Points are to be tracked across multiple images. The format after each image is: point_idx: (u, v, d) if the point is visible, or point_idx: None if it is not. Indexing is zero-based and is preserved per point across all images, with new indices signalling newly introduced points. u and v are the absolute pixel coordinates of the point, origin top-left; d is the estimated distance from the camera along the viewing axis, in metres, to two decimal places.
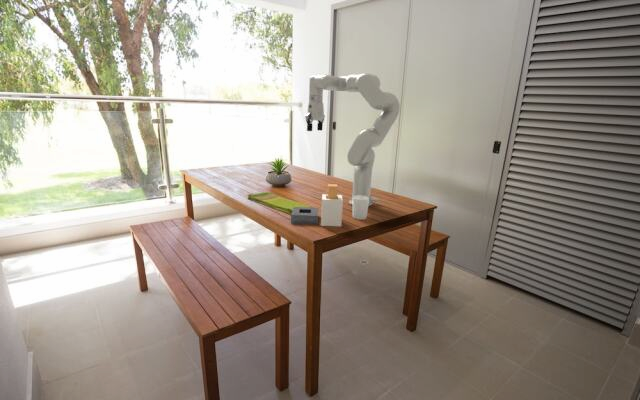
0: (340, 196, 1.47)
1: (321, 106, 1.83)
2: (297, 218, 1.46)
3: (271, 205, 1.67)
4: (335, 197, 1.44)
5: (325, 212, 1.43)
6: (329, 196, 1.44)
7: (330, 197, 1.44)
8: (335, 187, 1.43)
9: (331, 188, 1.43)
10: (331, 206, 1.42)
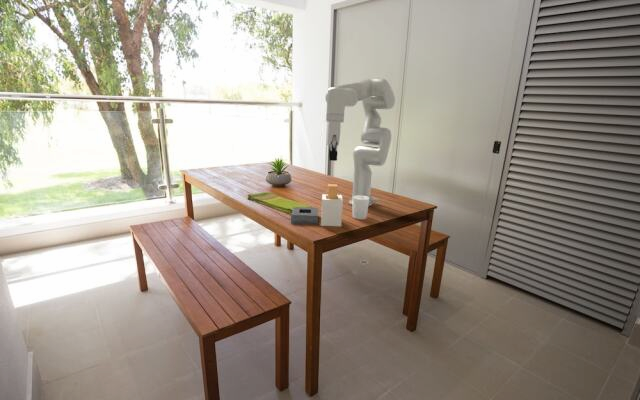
0: (340, 196, 1.47)
1: (328, 127, 1.37)
2: (297, 218, 1.46)
3: (271, 205, 1.67)
4: (335, 197, 1.44)
5: (325, 212, 1.43)
6: (329, 196, 1.44)
7: (330, 197, 1.44)
8: (335, 187, 1.43)
9: (331, 188, 1.43)
10: (331, 206, 1.42)
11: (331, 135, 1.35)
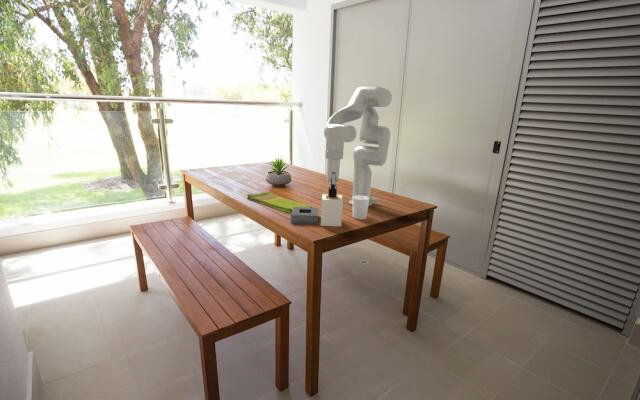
0: (340, 196, 1.47)
1: (327, 163, 1.40)
2: (297, 218, 1.46)
3: (271, 205, 1.67)
4: None
5: (325, 212, 1.43)
6: None
7: (330, 197, 1.44)
8: None
9: None
10: (331, 206, 1.42)
11: (330, 172, 1.38)
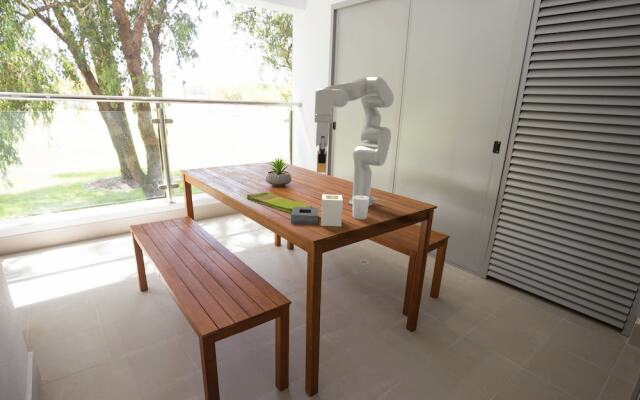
0: (340, 196, 1.47)
1: (316, 128, 1.37)
2: (297, 218, 1.46)
3: (272, 205, 1.67)
4: None
5: (325, 212, 1.43)
6: None
7: (319, 163, 1.41)
8: None
9: None
10: (331, 206, 1.42)
11: (320, 136, 1.35)
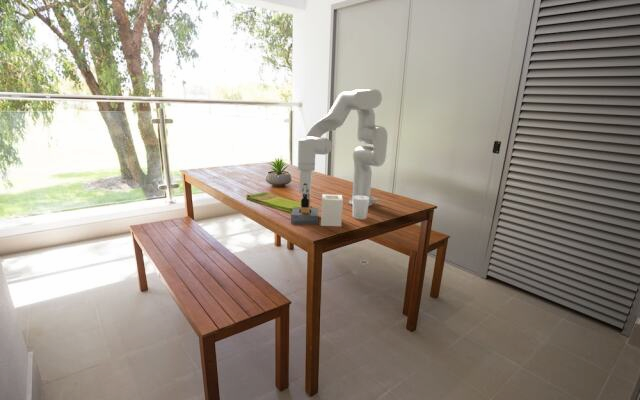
0: (340, 196, 1.47)
1: None
2: (297, 218, 1.46)
3: (272, 205, 1.67)
4: (308, 210, 1.49)
5: (325, 212, 1.43)
6: (302, 209, 1.49)
7: (303, 210, 1.49)
8: None
9: None
10: (331, 206, 1.42)
11: (302, 183, 1.42)
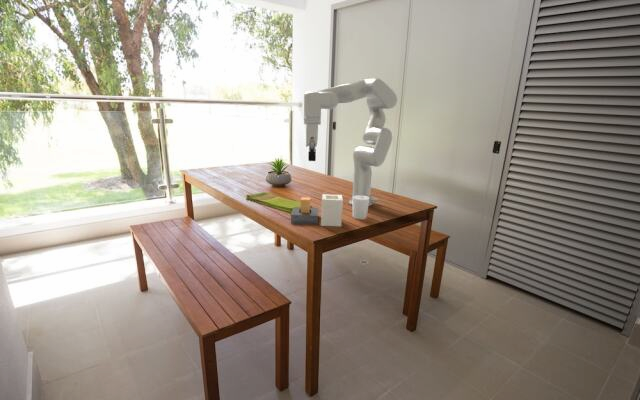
0: (340, 196, 1.47)
1: None
2: (297, 218, 1.46)
3: (272, 205, 1.67)
4: (308, 210, 1.49)
5: (325, 212, 1.43)
6: (302, 209, 1.49)
7: (303, 210, 1.49)
8: (307, 200, 1.48)
9: (304, 201, 1.48)
10: (331, 206, 1.42)
11: (309, 137, 1.43)
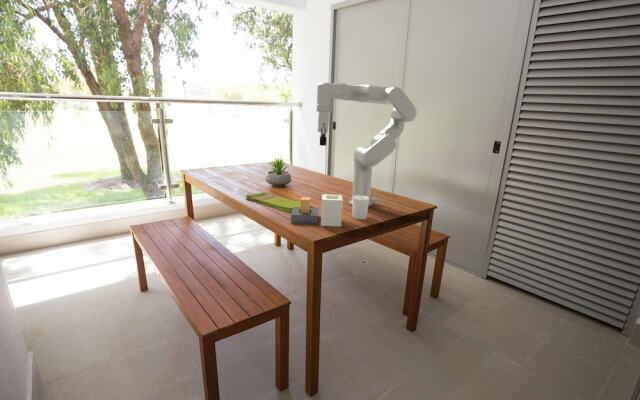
0: (340, 196, 1.47)
1: (318, 116, 1.60)
2: (297, 218, 1.46)
3: (272, 205, 1.67)
4: (308, 210, 1.49)
5: (325, 212, 1.43)
6: (302, 209, 1.49)
7: (303, 210, 1.49)
8: (307, 200, 1.48)
9: (304, 201, 1.48)
10: (331, 206, 1.42)
11: (321, 123, 1.57)
